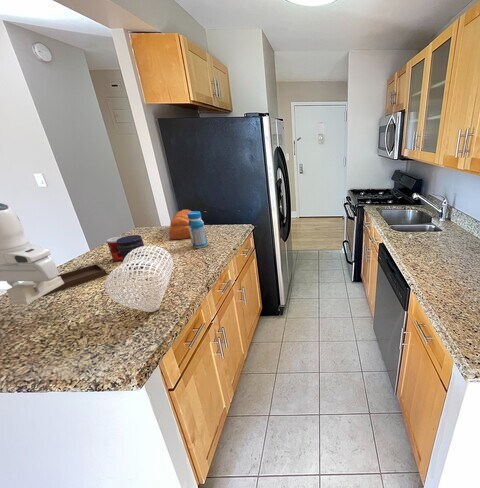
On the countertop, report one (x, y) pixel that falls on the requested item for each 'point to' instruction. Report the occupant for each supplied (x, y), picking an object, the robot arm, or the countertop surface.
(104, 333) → the countertop surface
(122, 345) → the countertop surface
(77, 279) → the tray
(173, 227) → the bread
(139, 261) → the white mesh basket
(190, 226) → the beverage bottle
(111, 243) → the canned food
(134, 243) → the storage jar
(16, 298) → the white block
